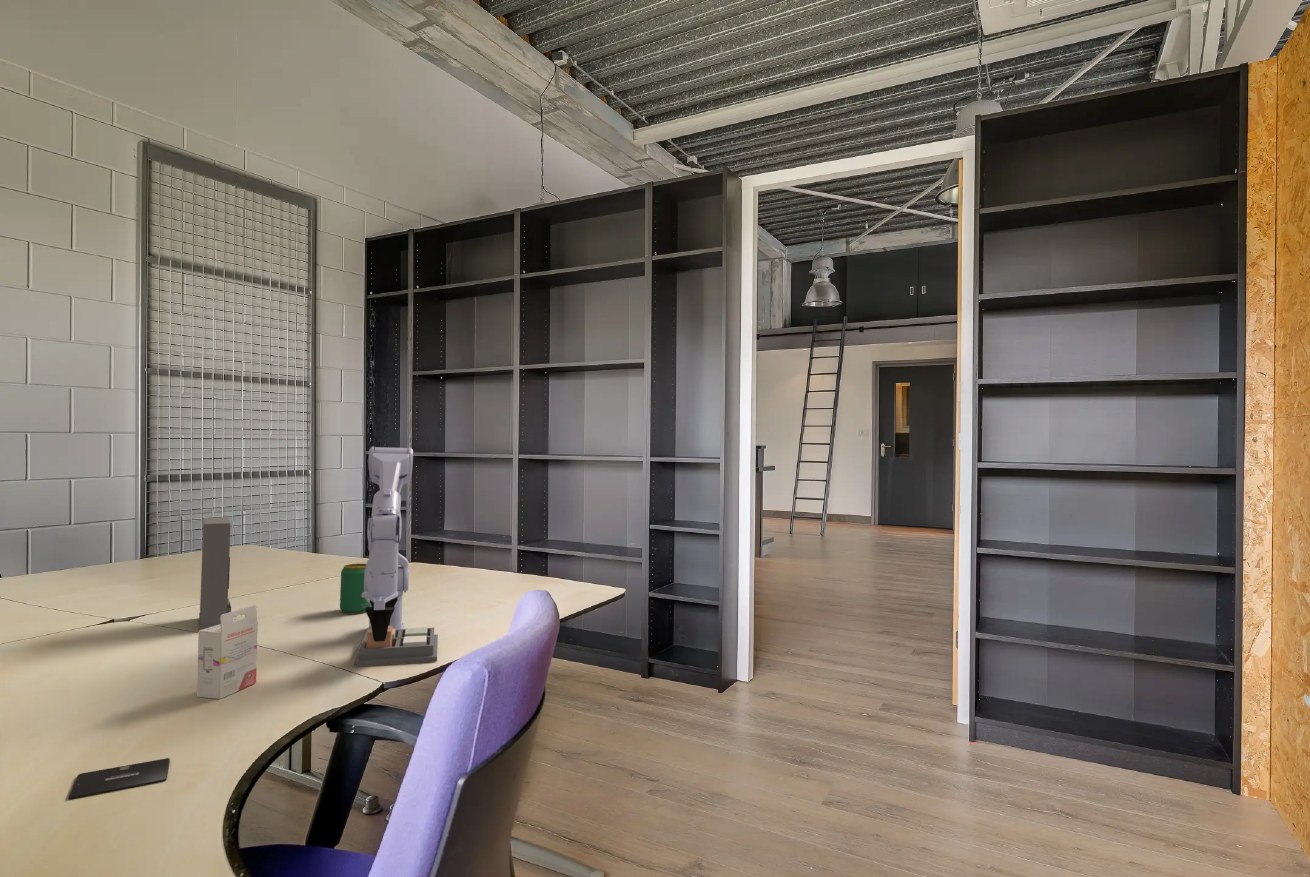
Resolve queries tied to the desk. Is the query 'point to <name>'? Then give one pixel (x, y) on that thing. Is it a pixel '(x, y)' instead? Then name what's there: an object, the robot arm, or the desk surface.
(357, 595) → the beverage can
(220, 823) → the desk surface
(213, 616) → the tall grey upright panel
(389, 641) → the terracotta block
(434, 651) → the frame board
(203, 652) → the ink cartridge box
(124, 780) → the solid state drive
